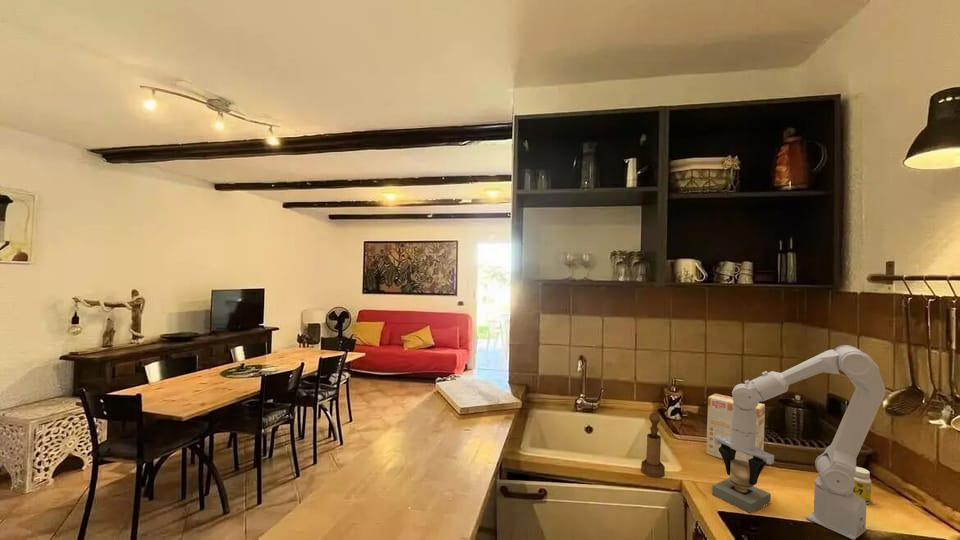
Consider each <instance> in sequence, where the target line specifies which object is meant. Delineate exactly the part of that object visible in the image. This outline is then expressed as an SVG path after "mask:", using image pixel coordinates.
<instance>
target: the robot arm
mask: <svg viewBox="0 0 960 540" xmlns="http://www.w3.org/2000/svg"><path fill="white" fill-rule="evenodd" d="M839 370H840V371H842V373H843V374H845V375H846V377H848V379H849V380H850V382H851V383H852V385H853V386H854V388H855V390H854V392H853V393H852V396H851V398H850V400H849V403H848V405H847V407H846V410H845V412H844V415H843V417H842V419H841V421H840V423H839V425H838V428H837V430H836V433H835V434H834V437H833V439H832V442H831V444H830V445H828V446H827V447H826V448H825V450H824V452H822V454H820V455H818V456H817V457H816V459H815V461H814V467H815V468H816V470H817V472H818V474H819V475H818V476H817V477H816V479H814V495H813V496H814V498H813V512H811V513H809V514H808V515H807V516H806V520H808V521H812V522H813V523H815V524H817V525H818V526H821V527H824V528H827V529H828V530H830V531H833V532H836V533H837V534H839V535H840V536H841V535H842V536H844V537H846V538H848V539H851V540H856V539H858V538H859V537H860V536H861V535H862V534H864V533H865V532H866V531H867V528H866V526H867V525H866V524H867V523H866V522H867V504H866V501H865V500H864V499H863V498H861V497H859V496H857V495H856V494H854V493H853V489H854V487H855V481H854V474H855V472H856V467H857V457H858V455H859V453H860V451H861V449H862V447H863V446H864V445H863V444H864V442H865V440H866V437H867V436H868V433H869V431H870V429H871V426H872V425H873V422H874V421H875V418H876V416H877V414H878V411H879V409H880V406H881V405H882V403H883V400H884V398H885V396H886V393H887V390H886V387H885V384H884V381H883V379H882V375H881V373H880V366H878V364H877V363H876V362H875V361H874V360H873V359H872V357H871V356H870V355H869V354H868V353H865V352H864V351H862V350H860V349H859V348H858V347H855V346H853V345H849V344H847V345H846V344H844V345H839V346H837V347H836V348H834V349H828V350H826V351H823V352H821V353H819V354H817V355H815V356H813V357H811V358H809V359H807V360H805V361H802V362H801V363H798V364H797V365H794V366H792V367H790V368H788V369H786V370H784V371H782V372H778V371H777V372H776V371H773V370H771V371H769V372H768V371H767V370H765V371H763V372H761V375H760V376H758V377H756V378H753V379H752V380H749V379H746V380H744V383H739V384H736V385H735V386H734V387H733V389H732V391H731V395H732V396H731V397H732V398H733V405H732V408H733V410H732V419H731V439H730V438H726V437H723V436H720V435H717V436H714V443H716V444H721V447H720V448H719V452H720V454H721V456H722V458H723V459H722V460H723V463H724V466H725V470H726V474H727V476H730V465H731V460H734V459H735V454H736V450H737V451H739V452H742V453H744V454H747V455H750V456H752V457H753V458H751V459H749V460H748V462H749V467H750V485H753V486H755V485H757V483H758V480H759V477H760V474H761V472H762V471H763V469H764V468H765V466H766V465H767V464H768V465H772V464H774V463H775V455H774V454H772V453H768V452H766V451H765V450H761V449H759V448H757V447H755V444H756V418H757V415H756V407H757V405H758V403H760V402H765V401H767V400H770V399H773V398H775V397H777V396H780V395H782V394H785V393H786V392H788V390H789V386H790V385H792V384H795V383H797V382H800V381H804V380H806V379H809V378H811V377H813V376H816V375H818V374H819V375H820V374H822V373H825V374H833V375H840V371H839Z"/></svg>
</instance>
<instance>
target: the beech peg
mask: <svg viewBox="0 0 960 540" xmlns="http://www.w3.org/2000/svg"><path fill="white" fill-rule="evenodd" d="M729 478H730V481H731V482H732V483H734V486H735V491H737V492H739V493H741V494H747V490H748V489H749V488H750V487H753V486H754V485H750V467H749V462H746V461H743V460H737V459H734V460H731V465H730V475H729Z"/></svg>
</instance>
